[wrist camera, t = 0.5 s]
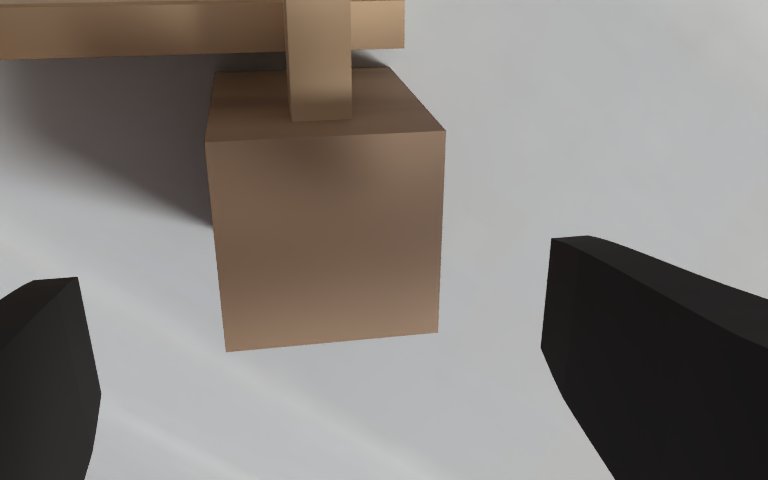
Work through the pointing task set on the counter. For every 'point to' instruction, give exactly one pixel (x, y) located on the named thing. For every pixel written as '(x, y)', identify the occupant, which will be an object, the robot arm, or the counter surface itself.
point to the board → (172, 27)
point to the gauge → (323, 194)
